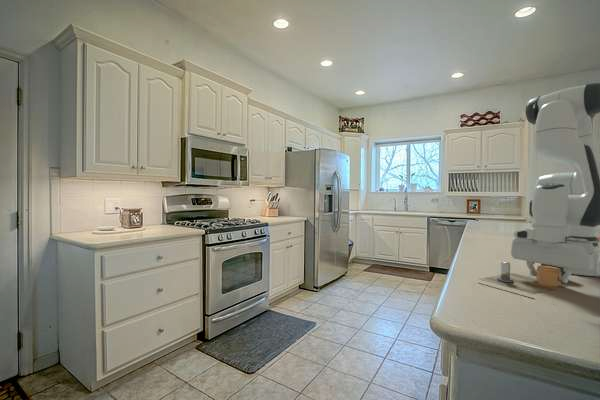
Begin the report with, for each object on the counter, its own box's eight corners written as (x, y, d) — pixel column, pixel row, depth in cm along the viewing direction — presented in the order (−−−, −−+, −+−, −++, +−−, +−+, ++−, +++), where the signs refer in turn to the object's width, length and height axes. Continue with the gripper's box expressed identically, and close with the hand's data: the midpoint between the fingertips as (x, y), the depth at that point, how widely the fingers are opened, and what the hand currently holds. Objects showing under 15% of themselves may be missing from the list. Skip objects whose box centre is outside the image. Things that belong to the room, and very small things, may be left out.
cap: (543, 280, 94) (543, 265, 94) (563, 285, 89) (564, 269, 89) (533, 282, 91) (533, 266, 91) (554, 287, 87) (554, 270, 86)
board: (514, 277, 103) (514, 273, 103) (571, 290, 88) (571, 285, 88) (477, 283, 94) (477, 278, 94) (533, 299, 80) (534, 293, 80)
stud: (502, 278, 95) (502, 260, 95) (516, 282, 91) (517, 263, 91) (493, 279, 93) (494, 261, 93) (508, 283, 89) (508, 264, 89)
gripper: (599, 239, 82) (598, 287, 82) (519, 231, 100) (518, 270, 101) (588, 240, 79) (587, 289, 79) (508, 231, 98) (507, 272, 98)
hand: (548, 278), depth 90 cm, fingers open, 6 cm apart
